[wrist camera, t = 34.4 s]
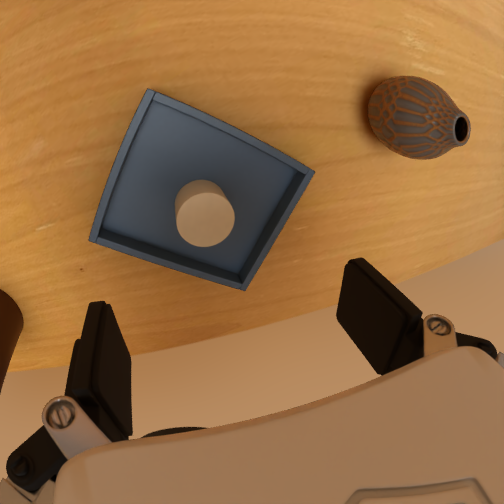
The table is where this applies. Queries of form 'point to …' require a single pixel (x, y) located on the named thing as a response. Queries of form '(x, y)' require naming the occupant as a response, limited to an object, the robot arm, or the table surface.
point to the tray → (185, 171)
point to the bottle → (8, 331)
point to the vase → (416, 118)
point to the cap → (203, 213)
